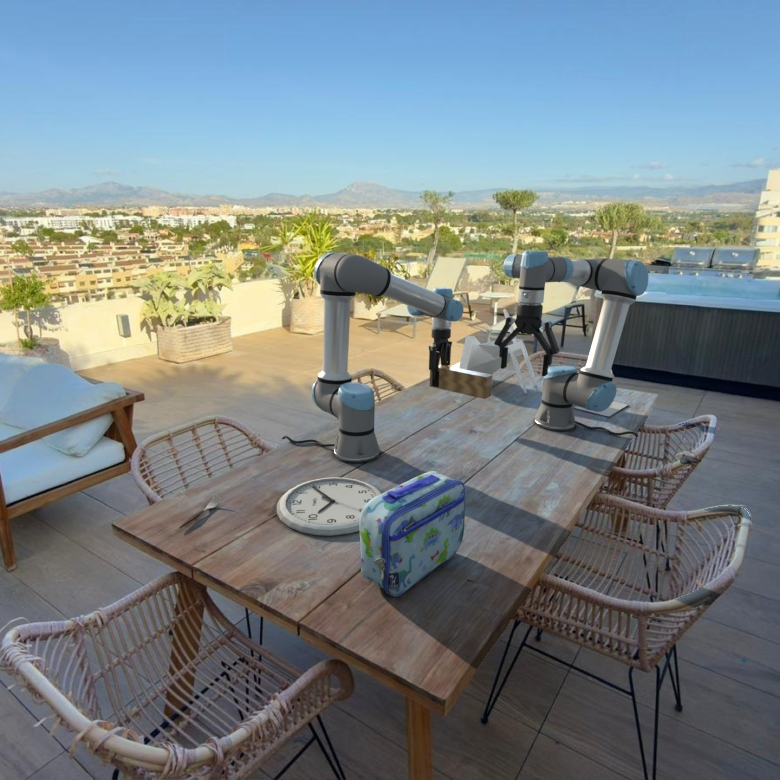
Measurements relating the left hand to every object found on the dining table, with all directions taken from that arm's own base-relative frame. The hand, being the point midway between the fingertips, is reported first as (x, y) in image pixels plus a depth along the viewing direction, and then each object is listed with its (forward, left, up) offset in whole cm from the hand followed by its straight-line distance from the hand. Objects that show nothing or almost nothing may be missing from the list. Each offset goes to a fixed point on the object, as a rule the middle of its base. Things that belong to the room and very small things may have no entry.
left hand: (438, 384), depth 211 cm
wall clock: (+8, -83, -12) cm, 84 cm away
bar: (+9, -1, -1) cm, 10 cm away
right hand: (+41, -26, +18) cm, 52 cm away
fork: (-18, -105, -12) cm, 107 cm away
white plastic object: (+5, +47, -12) cm, 49 cm away
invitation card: (+56, +47, -12) cm, 74 cm away
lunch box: (+40, -96, -12) cm, 105 cm away
